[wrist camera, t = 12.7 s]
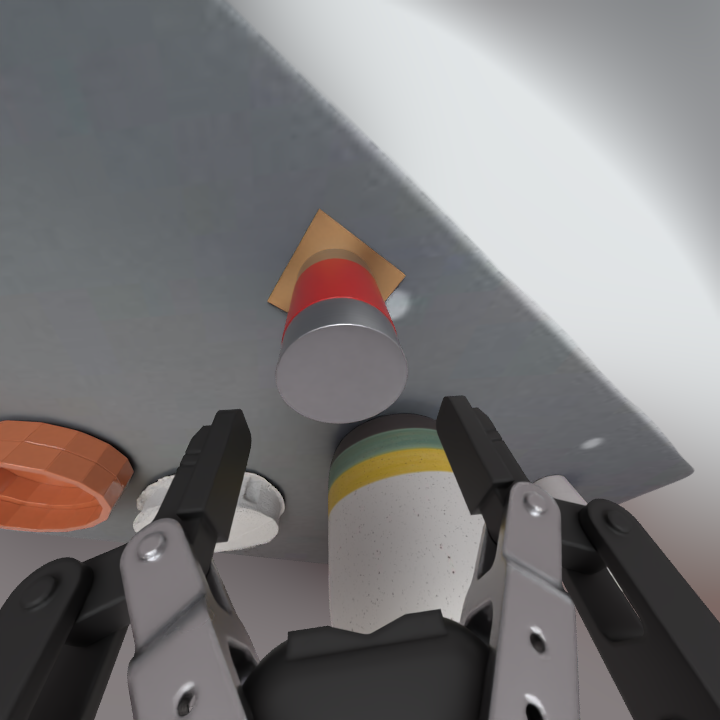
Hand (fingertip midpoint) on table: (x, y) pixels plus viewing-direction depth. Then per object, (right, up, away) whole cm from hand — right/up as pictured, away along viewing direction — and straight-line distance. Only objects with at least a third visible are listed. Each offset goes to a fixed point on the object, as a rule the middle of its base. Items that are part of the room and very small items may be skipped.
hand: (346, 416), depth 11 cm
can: (-1, +8, +10) cm, 13 cm away
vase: (+5, -9, +25) cm, 27 cm away
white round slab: (-21, -19, +29) cm, 41 cm away
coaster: (-1, +8, +11) cm, 14 cm away
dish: (-34, -9, +20) cm, 40 cm away
